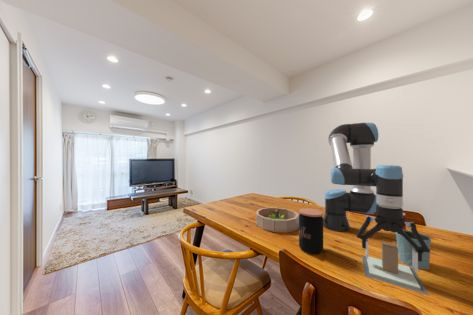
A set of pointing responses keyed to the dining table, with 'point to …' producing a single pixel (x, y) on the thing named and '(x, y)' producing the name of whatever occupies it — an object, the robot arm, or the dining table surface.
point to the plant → (276, 215)
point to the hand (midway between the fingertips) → (389, 262)
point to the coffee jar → (311, 231)
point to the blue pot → (406, 248)
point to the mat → (394, 282)
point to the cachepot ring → (277, 220)
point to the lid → (391, 267)
